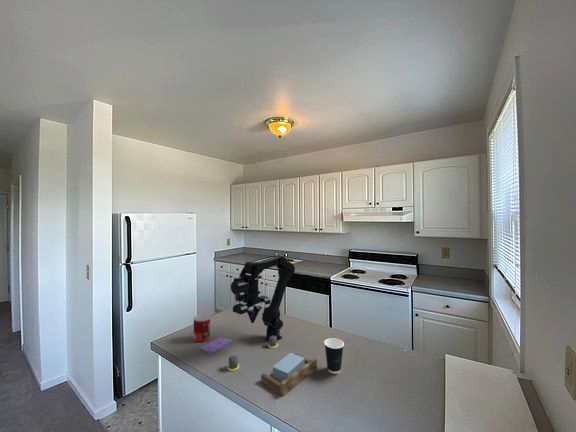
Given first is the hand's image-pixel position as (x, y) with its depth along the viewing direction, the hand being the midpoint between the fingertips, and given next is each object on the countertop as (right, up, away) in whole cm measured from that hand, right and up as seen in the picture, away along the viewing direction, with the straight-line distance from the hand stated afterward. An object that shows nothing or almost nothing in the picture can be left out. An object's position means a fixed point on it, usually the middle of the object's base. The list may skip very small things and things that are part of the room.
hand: (252, 322), depth 118 cm
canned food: (-27, -13, +10) cm, 32 cm away
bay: (+17, -12, -19) cm, 28 cm away
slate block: (+17, -13, -18) cm, 27 cm away
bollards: (+2, -13, -5) cm, 14 cm away
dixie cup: (+35, -13, -16) cm, 40 cm away
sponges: (-18, -13, +3) cm, 22 cm away
